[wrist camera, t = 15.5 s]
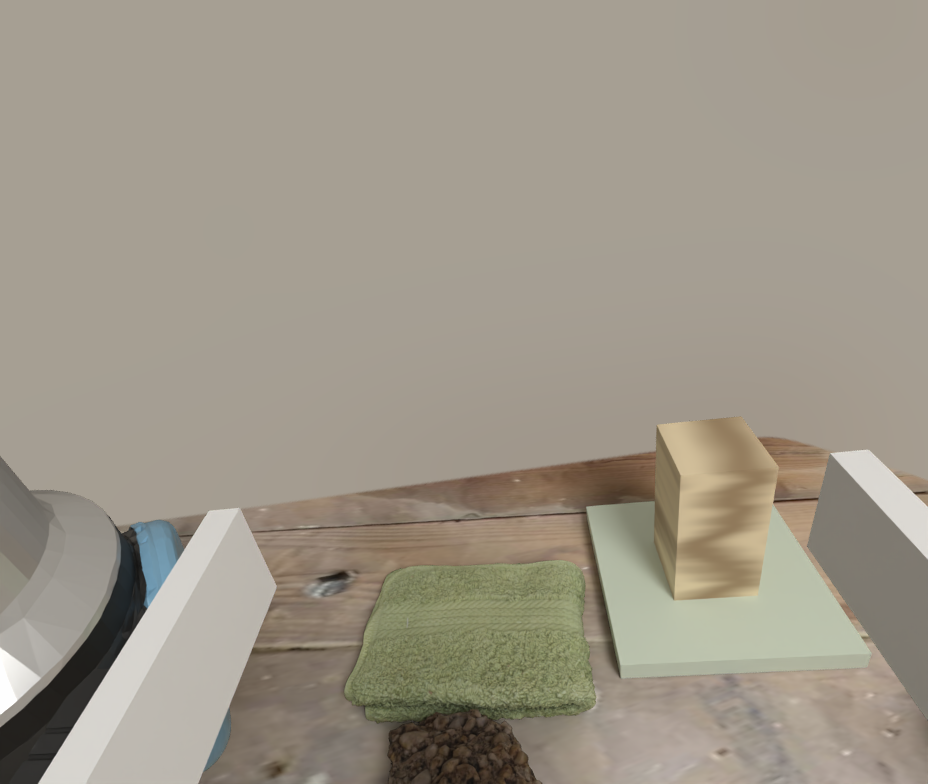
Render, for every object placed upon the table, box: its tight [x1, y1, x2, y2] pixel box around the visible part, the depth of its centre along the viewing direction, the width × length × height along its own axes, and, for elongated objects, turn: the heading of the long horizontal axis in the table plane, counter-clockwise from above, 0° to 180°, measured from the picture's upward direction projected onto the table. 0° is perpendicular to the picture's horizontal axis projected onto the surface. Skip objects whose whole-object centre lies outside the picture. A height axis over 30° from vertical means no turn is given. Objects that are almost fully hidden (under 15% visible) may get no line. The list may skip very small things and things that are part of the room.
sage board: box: [586, 501, 872, 678], centre depth 43 cm, size 16×16×2 cm
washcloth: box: [344, 560, 596, 723], centre depth 41 cm, size 13×18×3 cm
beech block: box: [654, 417, 779, 601], centre depth 40 cm, size 6×6×12 cm
